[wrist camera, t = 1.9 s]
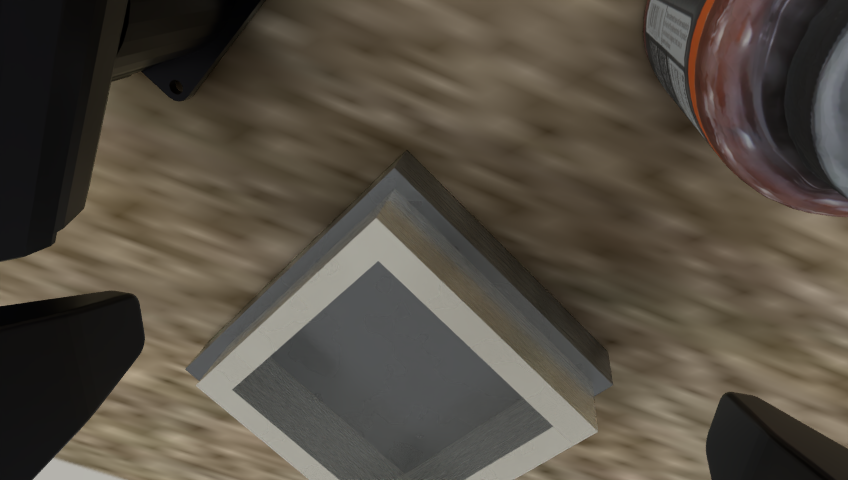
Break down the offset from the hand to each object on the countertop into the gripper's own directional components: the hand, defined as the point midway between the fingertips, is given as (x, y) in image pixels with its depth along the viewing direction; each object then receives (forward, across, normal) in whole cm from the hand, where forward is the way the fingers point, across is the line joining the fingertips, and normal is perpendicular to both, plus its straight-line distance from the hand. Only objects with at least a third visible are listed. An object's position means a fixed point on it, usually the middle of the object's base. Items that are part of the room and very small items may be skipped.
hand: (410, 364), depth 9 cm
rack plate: (+13, -3, -9) cm, 16 cm away
